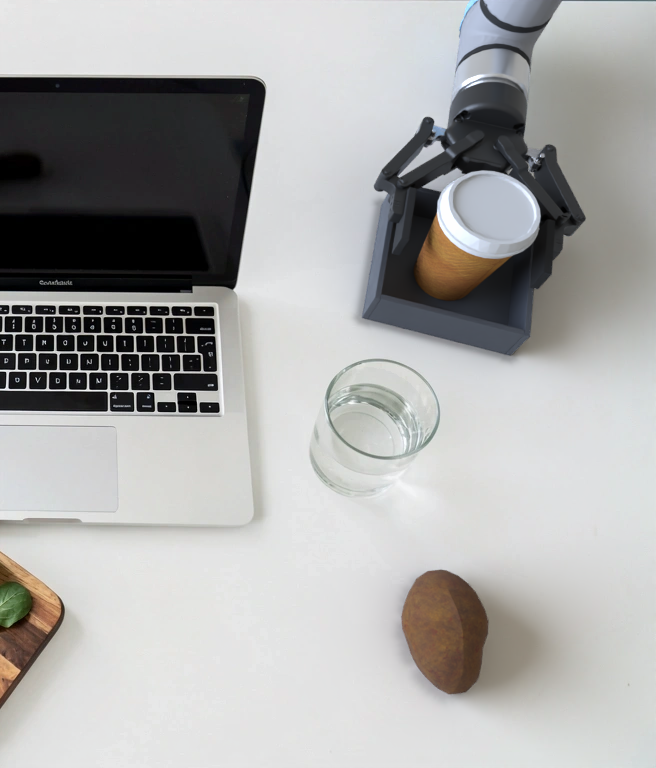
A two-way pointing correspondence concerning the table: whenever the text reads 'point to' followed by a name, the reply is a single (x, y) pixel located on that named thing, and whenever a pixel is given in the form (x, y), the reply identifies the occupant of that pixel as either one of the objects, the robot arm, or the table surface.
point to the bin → (440, 317)
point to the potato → (445, 630)
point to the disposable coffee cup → (475, 232)
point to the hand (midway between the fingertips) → (469, 264)
